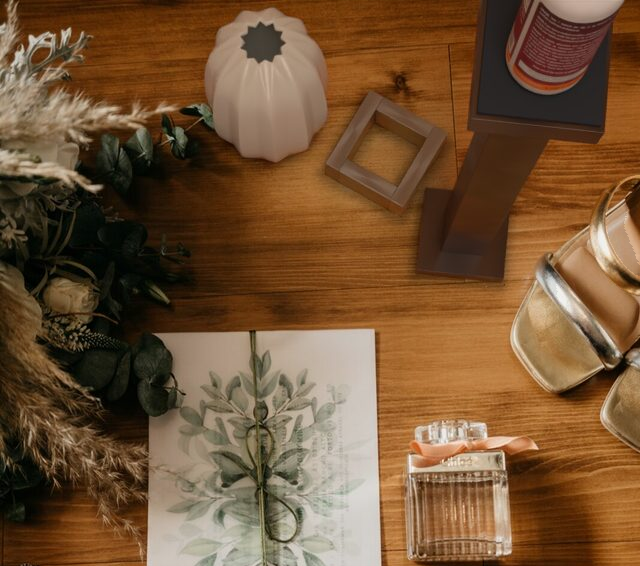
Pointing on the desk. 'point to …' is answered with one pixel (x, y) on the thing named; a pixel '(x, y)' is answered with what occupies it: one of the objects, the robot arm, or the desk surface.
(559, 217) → the desk surface
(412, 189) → the stand
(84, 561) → the desk surface
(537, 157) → the plant stand
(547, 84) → the pill bottle
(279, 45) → the vase
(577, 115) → the mat
